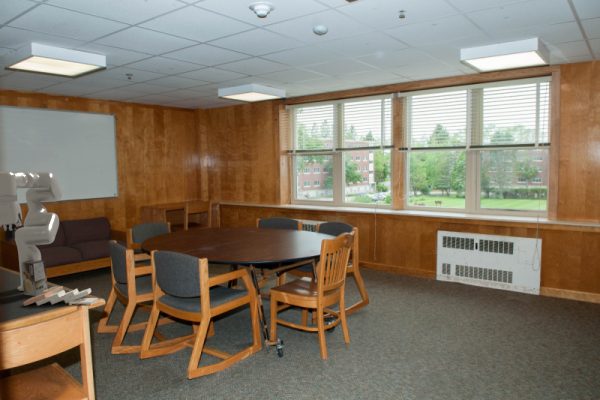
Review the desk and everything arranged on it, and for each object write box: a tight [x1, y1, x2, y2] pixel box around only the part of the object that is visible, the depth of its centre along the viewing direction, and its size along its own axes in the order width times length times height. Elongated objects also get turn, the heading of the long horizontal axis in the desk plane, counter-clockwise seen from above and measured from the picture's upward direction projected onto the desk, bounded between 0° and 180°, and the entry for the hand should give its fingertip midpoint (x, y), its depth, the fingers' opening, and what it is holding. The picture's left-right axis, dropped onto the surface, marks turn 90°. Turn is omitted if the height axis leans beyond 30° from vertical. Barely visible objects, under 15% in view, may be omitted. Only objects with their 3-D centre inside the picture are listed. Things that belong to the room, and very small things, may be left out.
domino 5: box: [68, 297, 99, 306], centre depth 186 cm, size 2×6×10 cm
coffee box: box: [21, 259, 48, 297], centre depth 201 cm, size 9×6×16 cm
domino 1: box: [22, 290, 53, 307], centre depth 186 cm, size 2×6×10 cm
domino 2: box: [35, 289, 66, 306], centre depth 187 cm, size 2×6×10 cm
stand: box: [43, 285, 64, 294], centre depth 195 cm, size 4×8×4 cm, turn 176°
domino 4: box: [63, 287, 92, 304], centre depth 188 cm, size 2×6×10 cm
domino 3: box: [50, 288, 80, 305], centre depth 187 cm, size 2×6×10 cm
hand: (11, 238), depth 190 cm, fingers closed
